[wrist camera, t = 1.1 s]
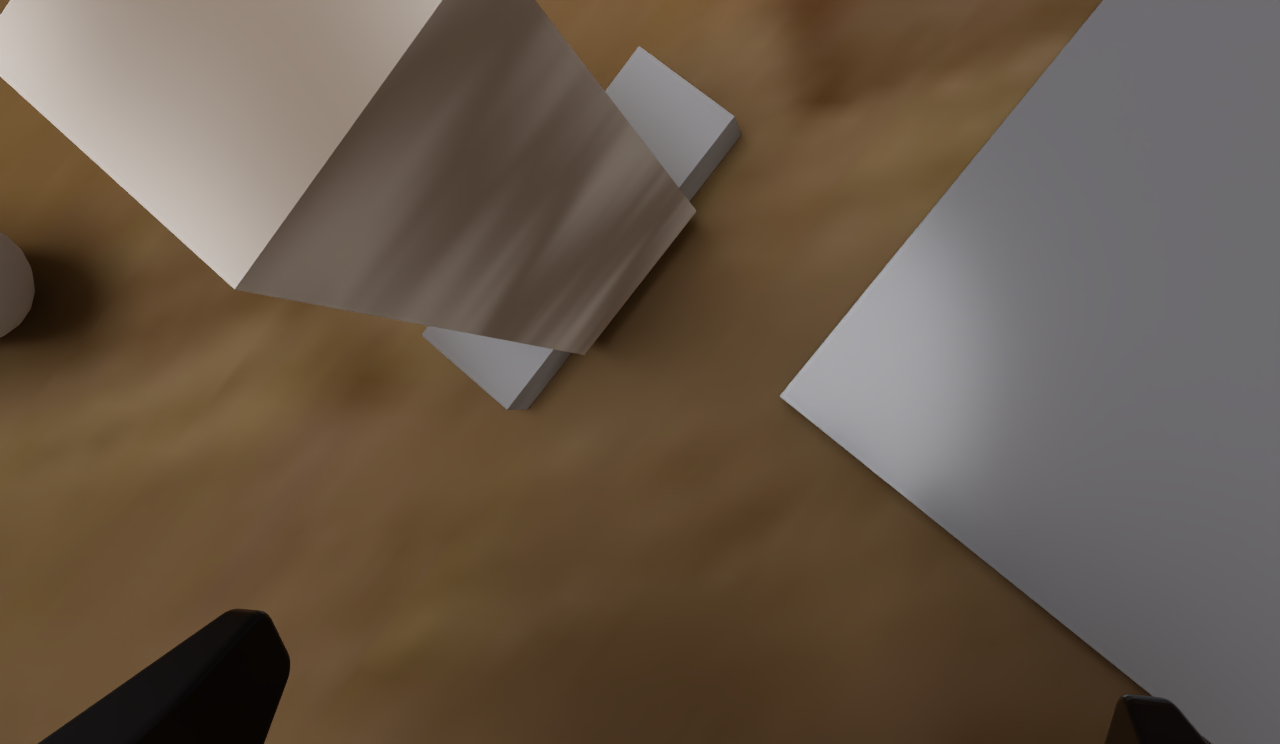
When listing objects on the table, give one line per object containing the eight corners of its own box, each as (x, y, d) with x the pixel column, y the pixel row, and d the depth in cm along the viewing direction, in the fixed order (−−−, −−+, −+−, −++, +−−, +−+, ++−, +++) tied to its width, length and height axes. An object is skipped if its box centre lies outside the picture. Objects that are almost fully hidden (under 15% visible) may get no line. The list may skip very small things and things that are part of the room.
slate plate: (1287, 801, 20) (1323, 833, 18) (783, 396, 22) (779, 396, 21) (1773, 295, 18) (1854, 286, 17) (1168, -74, 21) (1193, -110, 19)
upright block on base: (546, 426, 24) (113, 458, 10) (428, 323, 25) (-130, 215, 11) (762, 150, 23) (630, -263, 9) (631, 53, 24) (316, -468, 10)
